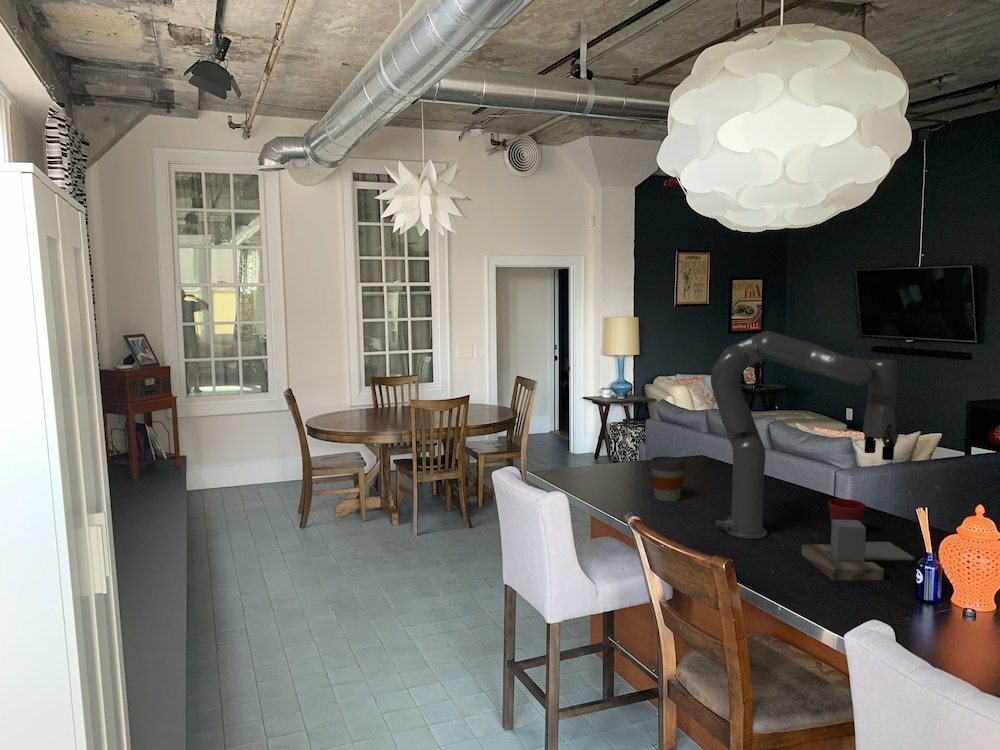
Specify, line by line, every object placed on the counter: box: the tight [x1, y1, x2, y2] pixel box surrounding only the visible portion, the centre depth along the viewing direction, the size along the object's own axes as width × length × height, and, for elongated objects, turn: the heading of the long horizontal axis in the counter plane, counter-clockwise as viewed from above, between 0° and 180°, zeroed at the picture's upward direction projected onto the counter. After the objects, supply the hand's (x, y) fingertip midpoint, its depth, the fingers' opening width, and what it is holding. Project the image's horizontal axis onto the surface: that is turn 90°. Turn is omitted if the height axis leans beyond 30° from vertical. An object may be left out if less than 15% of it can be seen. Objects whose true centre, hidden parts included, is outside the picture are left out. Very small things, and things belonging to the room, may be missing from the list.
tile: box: [865, 541, 916, 561], centre depth 217 cm, size 14×14×1 cm
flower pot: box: [827, 498, 867, 525], centre depth 234 cm, size 11×11×10 cm
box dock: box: [801, 543, 885, 582], centre depth 205 cm, size 14×20×3 cm
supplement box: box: [830, 519, 867, 562], centre depth 204 cm, size 7×7×13 cm
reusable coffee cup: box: [650, 455, 686, 502], centre depth 275 cm, size 13×13×15 cm
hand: (878, 456), depth 222 cm, fingers open, 9 cm apart
